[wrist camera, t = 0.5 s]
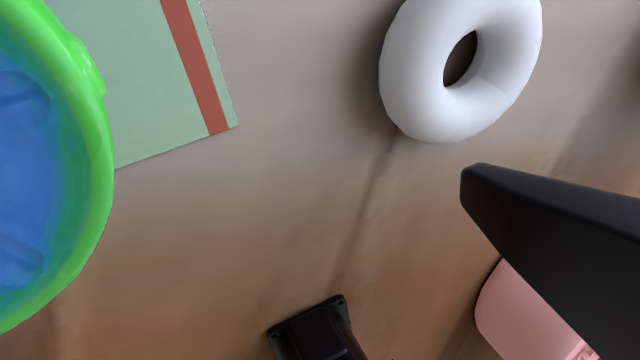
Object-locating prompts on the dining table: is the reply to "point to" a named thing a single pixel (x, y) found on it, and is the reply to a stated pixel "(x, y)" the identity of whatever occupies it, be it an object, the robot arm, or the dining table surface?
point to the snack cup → (48, 158)
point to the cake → (524, 321)
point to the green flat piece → (152, 72)
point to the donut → (479, 80)
